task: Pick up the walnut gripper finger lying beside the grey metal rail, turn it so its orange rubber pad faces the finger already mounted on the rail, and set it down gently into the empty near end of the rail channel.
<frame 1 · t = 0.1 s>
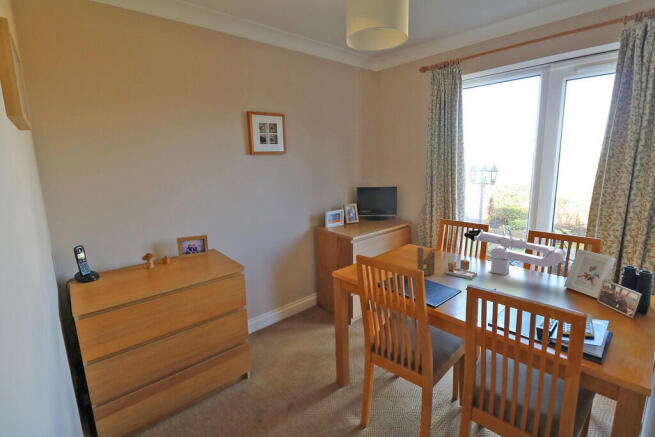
hand: (466, 233, 197), 22 cm above the table, tool horizontal, fingers open, 7 cm apart
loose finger: (464, 268, 195), on the table
wooden block: (425, 274, 190), on the table
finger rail: (461, 274, 187), on the table
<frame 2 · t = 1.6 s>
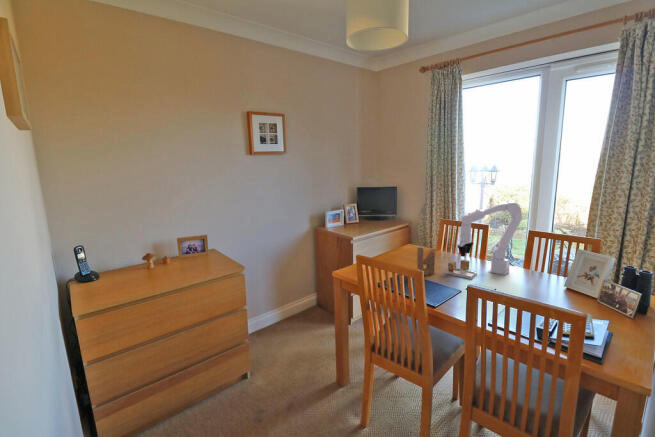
hand: (465, 254, 193), 9 cm above the table, tool pointing down, fingers open, 7 cm apart
nothing on the table moved.
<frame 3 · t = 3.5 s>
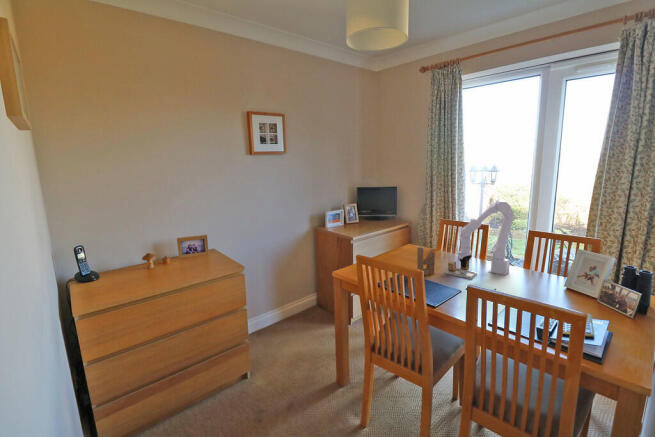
hand: (464, 266, 195), 1 cm above the table, tool pointing down, fingers closed on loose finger, 3 cm apart
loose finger: (464, 268, 195), on the table, touching gripper
everything else where it was.
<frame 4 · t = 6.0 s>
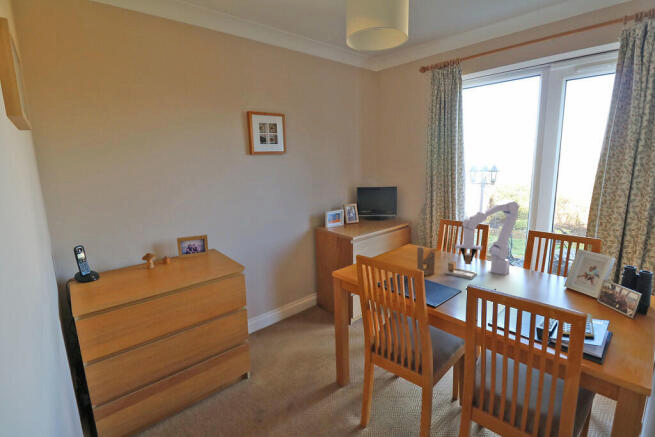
hand: (467, 260, 184), 9 cm above the table, tool pointing down, fingers closed on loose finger, 3 cm apart
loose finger: (468, 263, 185), point 7 cm above the table, touching gripper
everything else where it was.
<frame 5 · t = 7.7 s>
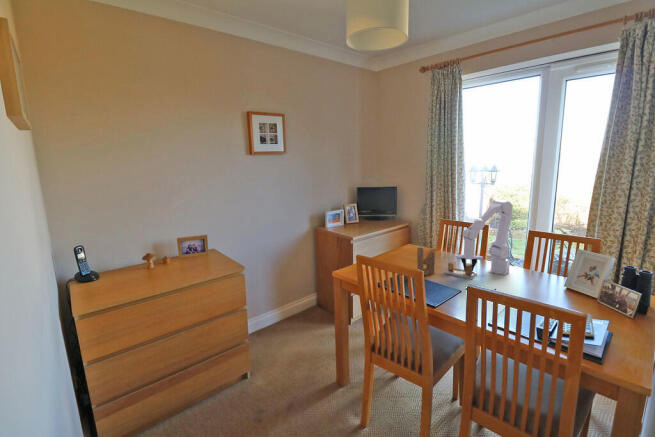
hand: (468, 270, 183), 3 cm above the table, tool pointing down, fingers closed on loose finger, 3 cm apart
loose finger: (468, 273, 184), point 1 cm above the table, touching gripper
everything else where it was.
when the fingers open (3 cm above the table, at t = 8.8 s): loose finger stays where it is, resting on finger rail.
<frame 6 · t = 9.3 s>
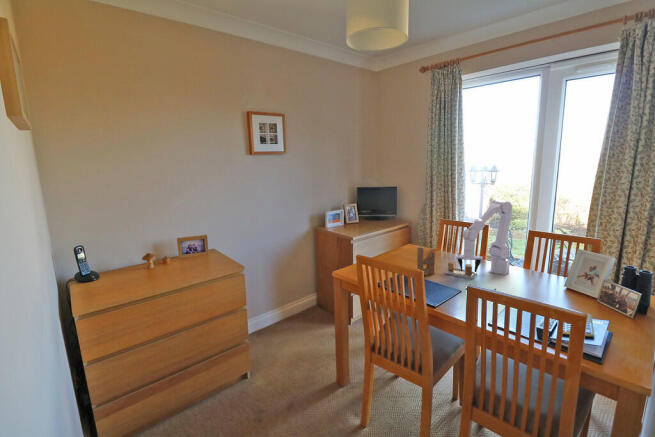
hand: (468, 271, 183), 3 cm above the table, tool pointing down, fingers open, 7 cm apart
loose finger: (468, 274, 184), point 1 cm above the table, touching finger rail
everything else where it was.
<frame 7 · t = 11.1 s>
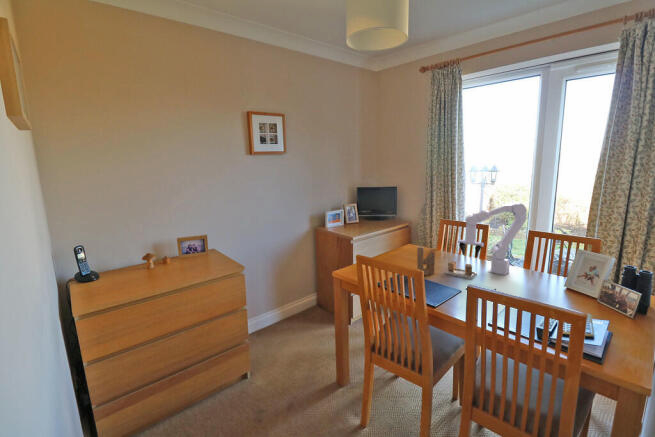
hand: (470, 255, 191), 9 cm above the table, tool pointing down, fingers open, 7 cm apart
nothing on the table moved.
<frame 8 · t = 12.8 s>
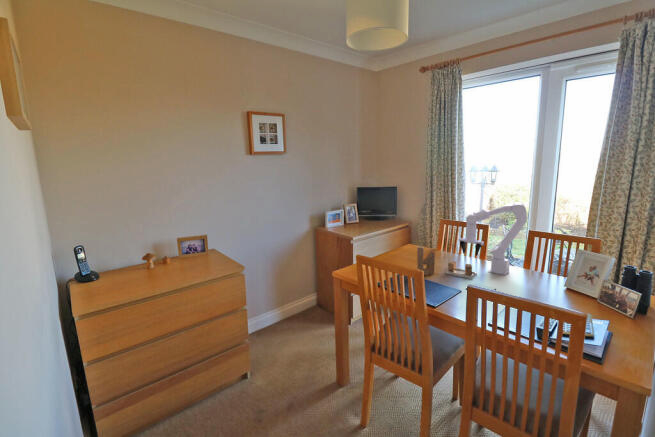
hand: (470, 254, 194), 9 cm above the table, tool pointing down, fingers open, 7 cm apart
nothing on the table moved.
at the end: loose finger 0.5 cm from the target spot on the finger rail, point 1.0 cm above the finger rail's base; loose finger tilted 0°; the gripper is holding nothing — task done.
